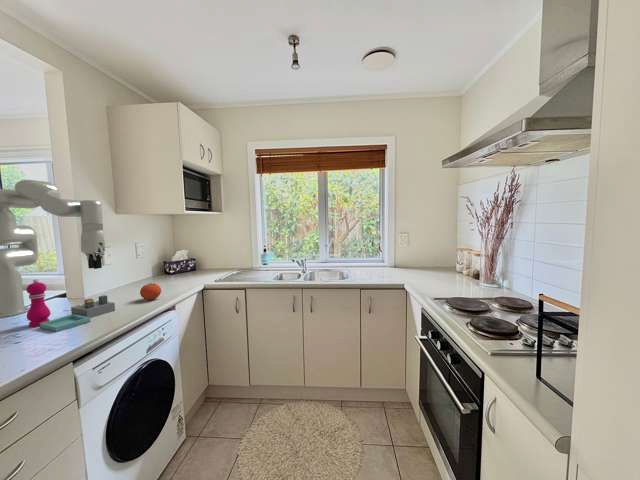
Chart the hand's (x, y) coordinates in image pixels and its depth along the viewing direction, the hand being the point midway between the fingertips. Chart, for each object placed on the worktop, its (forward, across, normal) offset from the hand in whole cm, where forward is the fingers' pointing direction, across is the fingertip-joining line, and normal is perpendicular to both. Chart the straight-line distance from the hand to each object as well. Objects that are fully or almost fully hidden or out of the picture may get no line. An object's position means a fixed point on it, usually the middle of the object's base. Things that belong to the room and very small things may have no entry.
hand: (95, 267), depth 127 cm
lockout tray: (+23, -3, -11) cm, 26 cm away
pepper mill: (+23, -14, -15) cm, 31 cm away
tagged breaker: (+19, -6, 0) cm, 20 cm away
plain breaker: (+19, -7, +6) cm, 21 cm away
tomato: (+23, -4, +29) cm, 37 cm away
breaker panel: (+23, -9, +3) cm, 25 cm away
